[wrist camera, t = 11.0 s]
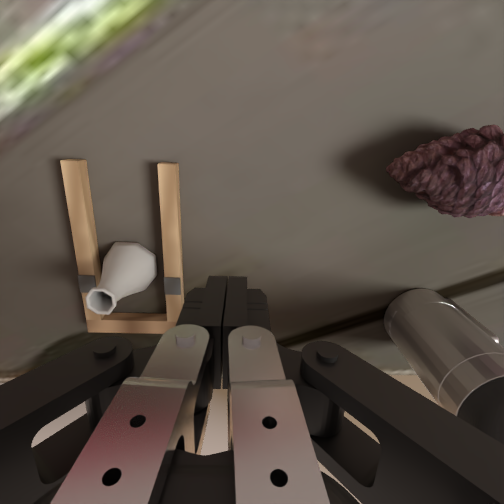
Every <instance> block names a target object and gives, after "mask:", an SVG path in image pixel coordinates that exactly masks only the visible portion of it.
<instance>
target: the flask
mask: <svg viewBox="0 0 504 504" xmlns="http://www.w3.org/2000/svg"><path fill="white" fill-rule="evenodd" d="M156 276H157V264H156V255H155V254H153V253H152V252H150V251H149V250H147V249H146V248H145V247H143V246H142V245H140V244H139V243H134V242H115V243H114V244H113V246H112V247H111V249H110V250H109V252H108V253H107V254H106V256H105V257H104V261H103V270H102V275H101V281H100V283H99V285H98V287H93V288H92V289H91V290H90V291H89V293H88V294H87V296H86V297H85V299H86V305H87V308H88V309H90V310H91V311H93V312H94V313H96V314H107V315H109V314H110V313H111V312H112V310H113V309H114V308H115V306H116V302H117V301H119V300H120V299H121V298H123V297H126V296H128V295H131V294H134V293H137V292H141V291H144V290H146V289H147V288H148V286H149V285H150V284H151V282H152V281H153V280H154V279H155V277H156Z"/></svg>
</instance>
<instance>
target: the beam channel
mask: <svg viewBox="0 0 504 504" xmlns="http://www.w3.org/2000/svg"><path fill="white" fill-rule="evenodd" d="M60 163H61V169H62V175H63V181H64V187H65V193H66V199H67V205H68V211H69V217H70V224H71V230H72V236H73V242H74V248H75V254H76V260H77V266H78V272H79V275H78V276H77V277H78V283H79V289H80V293H82V297H83V303H84V309H85V315H86V321H87V327H88V332H103V333H153V334H164V333H165V332H166V331H167V330H169V329H171V328H173V327H175V326H176V323H177V320H178V318H179V315H180V312H181V309H182V307H183V304H184V287H183V263H182V239H181V214H180V190H179V166H178V163H165V162H161V163H158V180H159V196H160V212H161V228H162V244H163V260H164V275H165V277H164V291H165V295H166V307H167V314H157V313H110V314H109V315H107V314H96V313H94V312H93V311H91V310H90V309H88V308H87V305H86V299H85V297H86V296H87V294H88V293H89V291H90V290H91V289H92V288H93V287H98V285H99V283H100V281H101V275H102V272H101V265H100V257H99V250H98V243H97V235H96V228H95V221H94V213H93V206H92V199H91V191H90V184H89V177H88V170H87V162H86V160H82V159H66V160H60Z"/></svg>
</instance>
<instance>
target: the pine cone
mask: <svg viewBox="0 0 504 504" xmlns="http://www.w3.org/2000/svg"><path fill="white" fill-rule="evenodd" d="M386 171H387V172H389V175H390V176H391V177H393V178H394V179H395V180H396V181H397V182H398V183H399V182H400V186H401V187H402V188H404V190H406V191H407V192H414V193H415V194H416V196H417V197H418V198H420V199H423V200H426V201H427V202H428V206H430V207H432V208H434V209H436V210H438V212H439V213H441V214H450V215H452V216H453V217H460V216H465V217H467V218H472V217H476V216H485V215H488V214H489V215H492V216H504V134H503V131H502V130H501V129H500V128H499V126H497V125H490V126H489V125H488V126H483V127H482V128H480V130H476V129H474V128H470V129H466V130H463V131H462V132H461V133H456V134H454V135H453V136H450V137H447V136H446V137H441V138H440V139H439V140H433V141H431V142H429V143H428V144H421V145H419V146H418V147H417V149H416V150H415V151H409V152H405V153H404V155H402V156H401V157H399V158H395V159H394V161H393V162H392V163H391V164H390V165H388V166H387V168H386Z"/></svg>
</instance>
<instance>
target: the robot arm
mask: <svg viewBox="0 0 504 504" xmlns="http://www.w3.org/2000/svg"><path fill="white" fill-rule="evenodd" d="M384 326H385V329H386V331H387V333H388V335H389V336H390V337H391V339H392V340H393V342H394V343H395V344H396V346H397V347H398V349H399V350H400V352H401V353H402V354H403V356H404V357H405V359H406V360H407V361H408V363H409V364H410V366H411V367H412V368H413V370H414V371H415V373H416V374H417V375H418V377H419V378H420V380H421V381H422V382H423V384H424V385H425V387H426V388H427V389H428V391H429V392H430V394H431V395H432V396H433V397H434V399H435V401H436V402H437V403H438V405H437V404H435V403H434V402H432V401H431V400H429V399H427V398H426V397H424V396H422V395H421V394H419V393H417V392H416V391H414V390H412V389H411V388H409V387H407V386H405V385H404V384H402V383H401V382H399V381H397V380H396V379H394V378H392V377H391V376H389V375H388V374H386V373H384V372H383V371H381V370H379V369H378V368H376V367H374V366H373V365H371V364H369V363H368V362H366V361H364V360H363V359H361V358H359V357H358V356H356V355H354V354H353V353H351V352H349V351H348V350H346V349H344V348H343V347H341V346H339V345H337V344H334V343H331V342H325V341H316V342H312V343H309V344H307V345H306V346H305V347H304V348H303V350H302V352H299V351H294V350H291V349H287V348H285V347H283V346H281V345H279V344H278V343H277V342H276V341H275V337H274V335H273V334H272V333H271V329H270V321H269V313H268V305H267V298H266V295H265V294H264V293H263V292H262V291H261V290H260V289H247V277H234V276H229V279H228V277H227V276H209V278H208V281H207V285H206V288H194V289H193V290H191V291H190V292H189V293H188V294H187V296H186V298H185V302H184V304H183V307H182V309H181V312H180V315H179V318H178V320H177V323H176V326H175V327H173V328H171V329H169V330H167V331H166V332H165V333H164V334H163V336H162V337H161V339H160V341H159V343H158V345H155V346H152V347H147V348H142V349H137V350H133V348H132V344H131V342H130V341H129V340H127V339H125V338H122V337H105V338H101V339H98V340H95V341H92V342H90V343H88V344H86V345H84V346H82V347H80V348H78V349H76V350H73V351H71V352H69V353H67V354H65V355H63V356H61V357H59V358H57V359H55V360H53V361H50V362H48V363H46V364H44V365H42V366H40V367H38V368H36V369H34V370H32V371H29V372H27V373H25V374H23V375H21V376H19V377H17V378H15V379H13V380H11V381H8V382H6V383H4V384H2V385H0V504H360V503H359V502H357V500H356V499H355V498H354V497H353V496H352V495H351V494H350V493H349V492H348V491H347V490H346V489H345V488H344V487H342V486H341V485H340V484H339V483H338V482H336V481H335V480H334V479H332V478H331V477H329V476H328V475H326V474H325V473H323V472H321V471H320V468H319V465H318V462H317V460H318V461H319V462H320V463H321V464H322V465H323V466H324V467H325V468H326V469H327V470H328V471H329V472H330V473H331V474H332V475H333V476H335V477H336V478H337V479H338V480H339V481H340V482H341V483H342V484H343V485H344V486H345V487H346V488H347V489H348V490H349V491H350V492H351V493H352V494H353V495H354V496H355V497H356V498H357V499H358V500H359V501H360V502H361V503H362V504H504V348H503V347H502V346H501V345H500V344H499V339H498V337H497V336H496V335H495V334H493V333H492V332H491V331H490V330H488V329H487V328H486V327H485V326H484V325H482V324H481V323H480V322H479V321H477V320H476V319H475V318H474V317H472V316H471V315H470V314H469V313H467V312H466V311H465V310H464V309H462V308H461V307H460V306H459V305H457V304H456V303H455V302H454V301H452V300H451V299H446V298H443V297H442V296H441V295H439V294H438V293H437V292H435V291H433V290H429V289H413V290H410V291H407V292H405V293H403V294H401V295H399V296H398V297H397V298H395V299H394V300H393V301H392V302H391V304H390V305H389V306H388V308H387V310H386V312H385V315H384ZM222 369H223V389H228V395H227V396H228V399H227V402H228V403H227V420H228V451H225V452H221V453H216V454H212V455H207V456H202V455H200V453H201V449H202V444H203V440H204V435H205V431H206V426H207V422H208V417H209V413H210V401H211V399H212V393H213V389H221V379H222ZM84 401H85V404H86V410H87V413H86V414H85V415H83V416H82V417H80V418H78V419H77V420H75V421H74V422H72V423H70V424H69V425H67V426H66V427H64V428H63V429H61V430H60V431H58V432H56V433H55V434H53V435H52V436H50V437H49V438H47V439H45V440H44V441H43V442H41V443H39V444H38V445H36V446H34V447H33V448H31V443H32V440H33V438H34V436H35V435H36V434H37V432H38V431H39V430H40V429H41V428H42V427H44V426H45V425H46V424H48V423H50V422H51V421H53V420H55V419H56V418H58V417H60V416H61V415H63V414H65V413H66V412H68V411H69V410H71V409H73V408H74V407H76V406H78V405H79V404H81V403H83V402H84ZM344 411H346V412H347V413H349V414H350V415H351V416H353V417H354V418H355V419H357V420H358V421H359V422H360V423H362V424H363V425H364V426H366V427H367V428H368V429H369V430H371V431H372V432H373V433H374V434H375V436H376V437H377V439H378V440H379V442H380V444H379V443H377V442H376V441H375V440H374V439H372V438H371V437H370V436H368V435H367V434H366V433H365V432H363V431H362V430H361V429H360V428H358V427H357V426H356V425H354V424H353V423H352V422H351V421H349V420H348V419H347V418H346V417H344Z"/></svg>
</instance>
